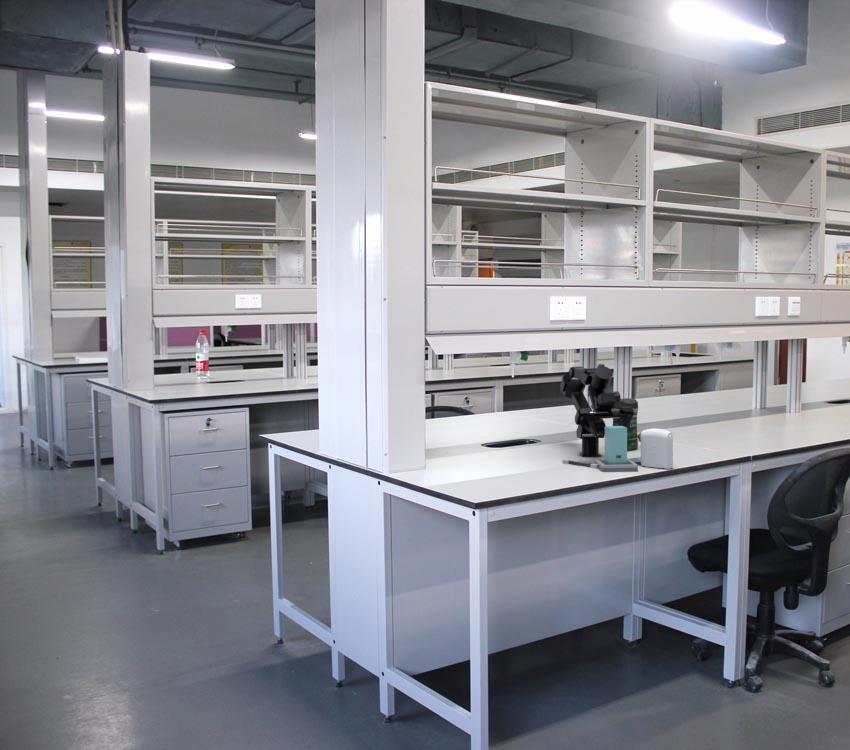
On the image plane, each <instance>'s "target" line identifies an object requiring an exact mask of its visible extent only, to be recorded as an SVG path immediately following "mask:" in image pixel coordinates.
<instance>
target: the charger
mask: <svg viewBox="0 0 850 750" xmlns="http://www.w3.org/2000/svg"><path fill="white" fill-rule="evenodd" d="M604 459H605V464H606V465H627V459H628V451H627V428H626V427H623V426H613V425H611V426H610V425H609V426H608V425H606V426H605V436H604Z"/></svg>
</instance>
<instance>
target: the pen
mask: <svg viewBox="0 0 850 750" xmlns="http://www.w3.org/2000/svg"><path fill="white" fill-rule="evenodd" d="M561 460H562V464H567V465H569V464H570V465H577V466H581V465H582V466H583V467H587V468H593V469H598V465H597V464H595V463H588V462H587V463H586V462H582V461H575V460H571V459H561ZM582 466H581V467H582Z"/></svg>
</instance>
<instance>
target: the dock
mask: <svg viewBox="0 0 850 750" xmlns="http://www.w3.org/2000/svg"><path fill="white" fill-rule="evenodd" d="M630 459H631V458H627V465H606V464H605V458H603V459H594V464H597V465H598V468H597V469H598V470H600V472H601V473H611V472H612V473H613V472H614V473H616V472H617V473H618V472H621V473H624V472H625V473H626V472H627V473H628V472H631V473H632V472H638V471H639V465H637V464H636V463H634V462H633V461H631V460H630Z"/></svg>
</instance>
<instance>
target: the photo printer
mask: <svg viewBox="0 0 850 750" xmlns="http://www.w3.org/2000/svg"><path fill="white" fill-rule="evenodd" d="M641 432H642V433H641V442H640V459H641V465H640V467H643V466H645V468H646V467H647V468H657V469H663V468H664V470H671V468H672V469H673V466H674V458H673V455H674V454H673V453H674V451H673V450H674V449H673V445H674V443H673V441H674V439H673V433H672V432H671V431H668V430H666V429H662V428H656V427H655V428H647V429H644V430H642V431H641Z"/></svg>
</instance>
